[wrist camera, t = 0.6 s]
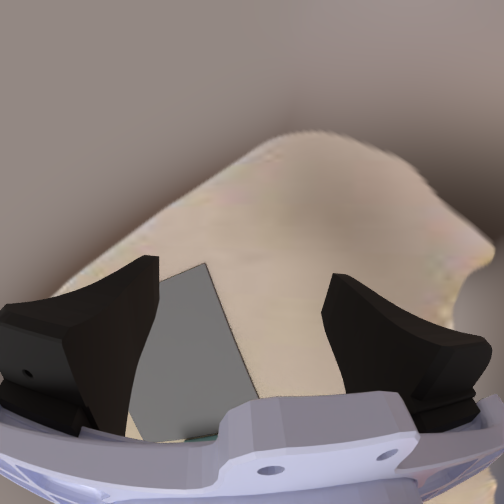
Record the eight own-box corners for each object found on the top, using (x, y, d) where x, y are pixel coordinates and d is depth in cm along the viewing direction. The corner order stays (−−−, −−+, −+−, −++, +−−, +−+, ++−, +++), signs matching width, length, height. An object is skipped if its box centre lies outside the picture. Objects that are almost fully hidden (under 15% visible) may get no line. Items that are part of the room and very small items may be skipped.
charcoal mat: (268, 419, 34) (267, 420, 33) (146, 442, 36) (145, 443, 36) (205, 263, 37) (204, 263, 37) (92, 311, 39) (90, 312, 39)
